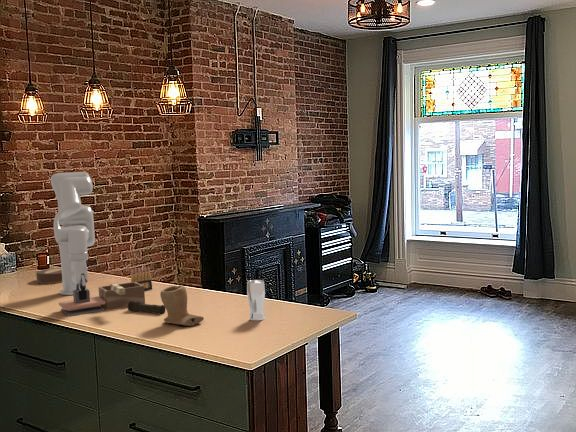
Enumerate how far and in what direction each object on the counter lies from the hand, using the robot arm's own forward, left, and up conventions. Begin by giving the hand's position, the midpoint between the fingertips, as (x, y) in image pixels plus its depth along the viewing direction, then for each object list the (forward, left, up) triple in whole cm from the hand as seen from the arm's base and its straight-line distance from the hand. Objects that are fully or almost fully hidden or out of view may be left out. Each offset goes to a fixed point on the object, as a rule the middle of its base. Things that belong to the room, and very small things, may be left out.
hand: (81, 298), depth 274 cm
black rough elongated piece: (+22, +20, -6) cm, 31 cm away
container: (-82, +5, -6) cm, 82 cm away
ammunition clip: (-21, +33, -6) cm, 40 cm away
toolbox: (0, +17, -5) cm, 18 cm away
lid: (0, 0, -4) cm, 4 cm away
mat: (0, 0, -5) cm, 5 cm away
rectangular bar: (+17, +11, +4) cm, 21 cm away
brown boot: (+49, +25, -6) cm, 56 cm away
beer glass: (+62, +52, -6) cm, 82 cm away
